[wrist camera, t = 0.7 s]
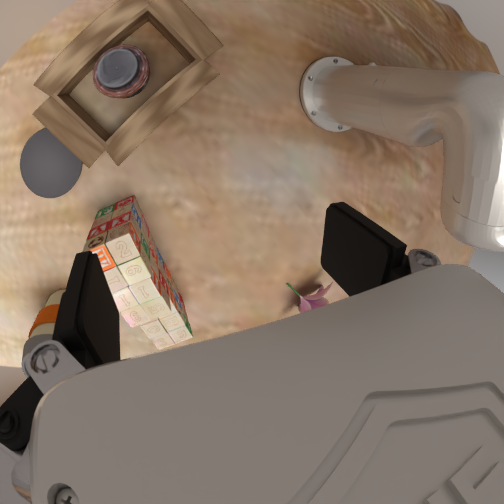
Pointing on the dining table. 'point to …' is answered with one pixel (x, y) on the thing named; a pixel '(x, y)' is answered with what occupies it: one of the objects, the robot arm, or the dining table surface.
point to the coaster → (48, 165)
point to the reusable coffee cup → (42, 327)
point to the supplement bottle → (121, 72)
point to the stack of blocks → (138, 274)
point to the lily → (313, 299)
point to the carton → (90, 50)
